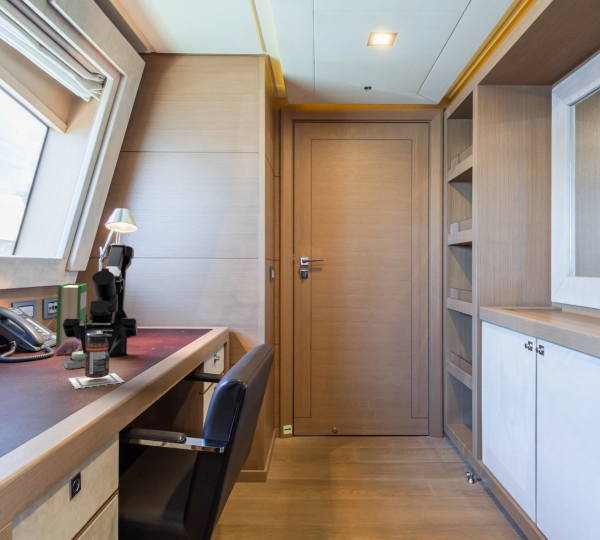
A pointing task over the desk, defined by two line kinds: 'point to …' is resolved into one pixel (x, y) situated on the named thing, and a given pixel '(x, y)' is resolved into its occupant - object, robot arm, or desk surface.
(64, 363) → the button housing
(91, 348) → the supplement bottle
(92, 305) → the robot arm
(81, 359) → the button
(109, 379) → the paper sheet
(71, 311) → the hardback book
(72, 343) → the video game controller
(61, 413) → the desk surface
